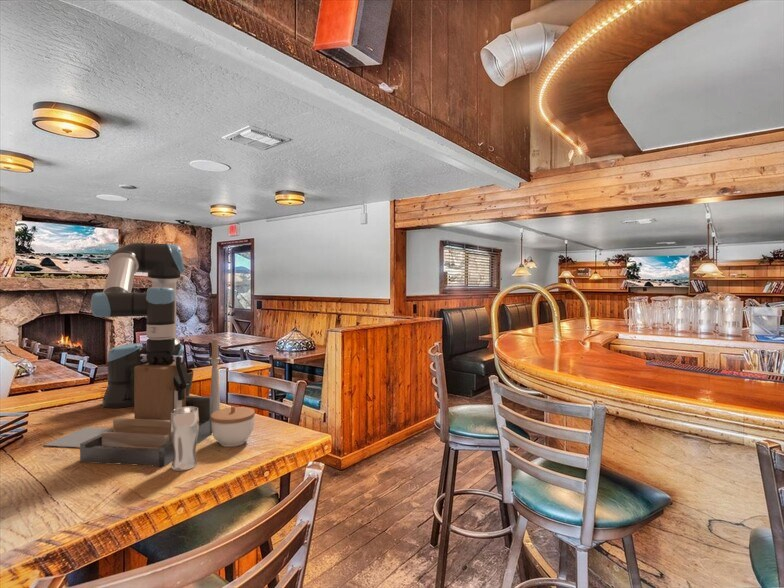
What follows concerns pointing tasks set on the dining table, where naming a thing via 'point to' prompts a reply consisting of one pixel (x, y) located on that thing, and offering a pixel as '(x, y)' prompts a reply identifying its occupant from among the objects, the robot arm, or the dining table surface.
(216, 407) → the candlestick
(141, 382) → the wooden block
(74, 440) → the mat
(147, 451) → the rack
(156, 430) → the offcut stack
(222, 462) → the dining table surface
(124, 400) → the robot arm
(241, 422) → the lidded bowl
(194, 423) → the beer glass
